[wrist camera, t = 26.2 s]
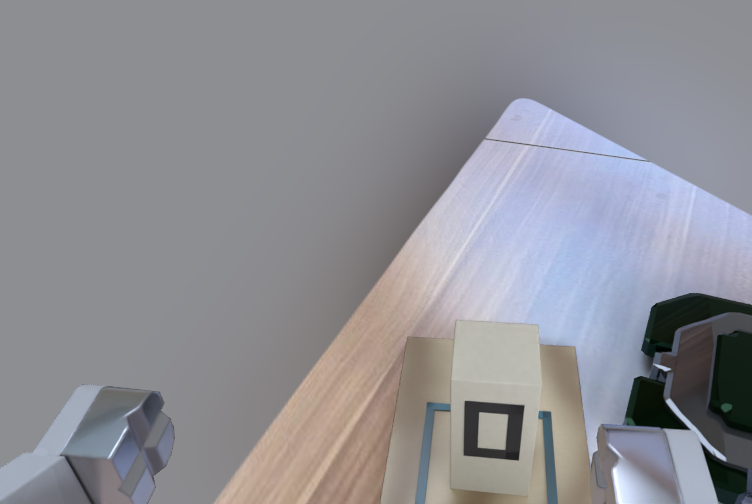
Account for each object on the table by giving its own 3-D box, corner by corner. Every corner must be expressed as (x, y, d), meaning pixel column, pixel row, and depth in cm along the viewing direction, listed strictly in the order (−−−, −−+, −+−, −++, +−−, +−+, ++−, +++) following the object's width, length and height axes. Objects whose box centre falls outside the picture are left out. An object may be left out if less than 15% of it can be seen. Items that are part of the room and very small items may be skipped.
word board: (357, 647, 34) (355, 637, 34) (407, 341, 52) (407, 330, 52) (614, 684, 32) (618, 674, 31) (574, 351, 50) (576, 341, 50)
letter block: (449, 490, 41) (450, 380, 35) (454, 427, 44) (455, 319, 39) (528, 498, 40) (542, 387, 34) (526, 433, 44) (538, 323, 38)
